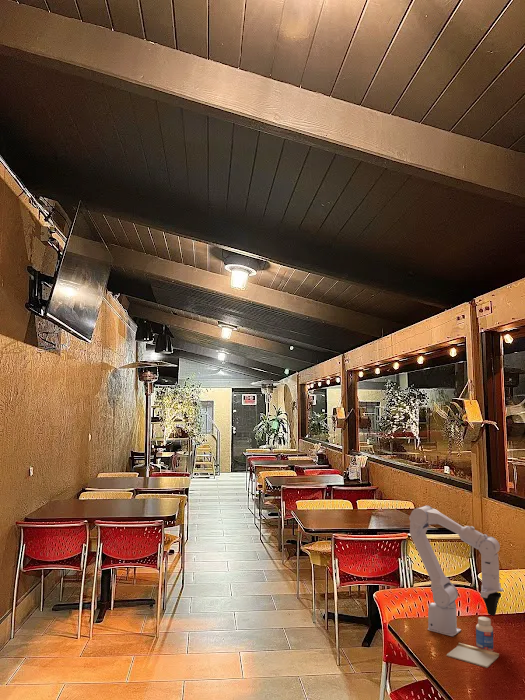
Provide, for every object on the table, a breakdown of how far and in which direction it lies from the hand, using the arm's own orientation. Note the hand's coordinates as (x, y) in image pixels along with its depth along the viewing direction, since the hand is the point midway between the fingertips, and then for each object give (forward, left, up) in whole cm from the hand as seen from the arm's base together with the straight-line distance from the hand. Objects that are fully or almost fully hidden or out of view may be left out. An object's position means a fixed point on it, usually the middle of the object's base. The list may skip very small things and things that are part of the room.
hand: (491, 614), depth 194 cm
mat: (-1, -17, -9) cm, 19 cm away
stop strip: (-1, -11, -9) cm, 14 cm away
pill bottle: (0, -8, -9) cm, 12 cm away
